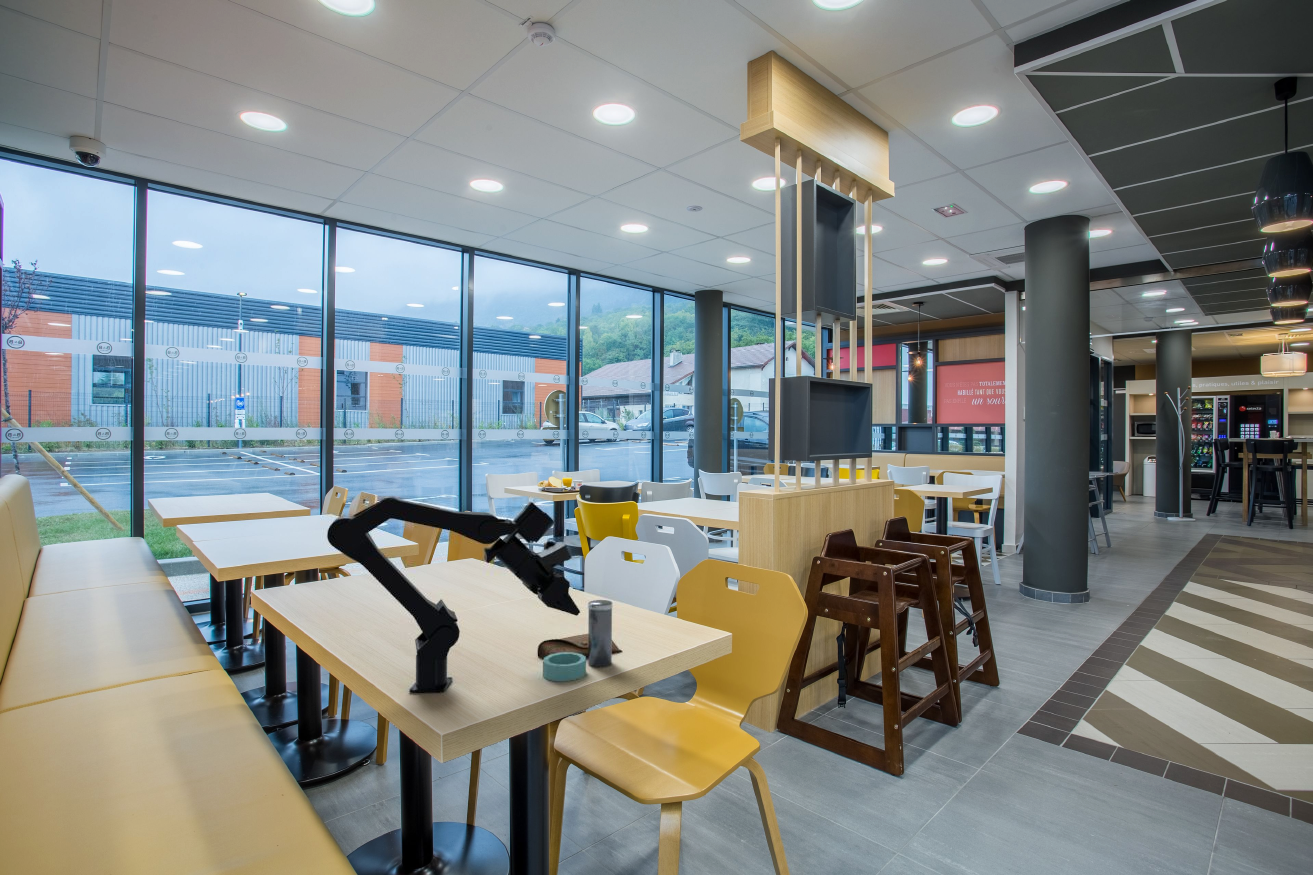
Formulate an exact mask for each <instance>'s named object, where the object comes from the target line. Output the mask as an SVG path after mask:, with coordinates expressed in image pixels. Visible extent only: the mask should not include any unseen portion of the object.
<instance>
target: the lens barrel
mask: <svg viewBox="0 0 1313 875" xmlns="http://www.w3.org/2000/svg"><path fill="white" fill-rule="evenodd" d="M587 610H588V626H587V627H588V633H587V634H588V658H587V661H588V662H587V663H588V666H589V667H592V668H600V667H601V668H607V667H609V666H612V664H613V662H612V660H613V658H612V655H613V653H612V640H613V638H612V635H613V626H612V625H613V602H612V601H611V600H607V599H594V600H591V601H589V602H588V603H587Z"/></svg>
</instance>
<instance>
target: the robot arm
mask: <svg viewBox="0 0 1313 875" xmlns="http://www.w3.org/2000/svg"><path fill="white" fill-rule="evenodd" d="M392 519H393V520H397V521H403V522H408V523H411V524H417V525H422V526H426V527H431V528H436V529H440V530H445V531H449V532H450V531H451V532H453V533H455V534H456V533H457V534H458V535H461V536H463V537H465V538H468V539H469V540H472V541H475V542H477V543H480V544H483V545H491V544H492V545H491V546H489V547H483V551H484V555H483V560H484V561H485V562H486V563H487V564H489V563H491V562H492V560H494V559H495V558H496V559H497V560H498V561H499V562H500V563H501V564H502V565H503V566H504V567H506V568H507V570H509V571H510V572H511V573H512V574H513V575H514V576H515V577H516V578H518V579H519V580H520V582H522V585H523V586H524V587H526V588H527V589H528V590H529V592H531V593H533V594H534V595H536V596H537V599H539V601H541V602H542V604H544V605H545V606H546V607H547V608H550V609H555V610H557V611H561V612H563V613H567V614H570V615H574V616H579V614H580V613H581V610H580V609H579V607H578V605H577V604H576V603H575V601H574V599H573V598H572V597H571V595H570V592H569V591H570V590H569V589H570V587H571V585H570V584H571V582H570V581H569V580H568V579H567V578H566V577H565V576H563V575H562V574H561V573H554V572H555V568H554V567H557V566H559V565H560V564H563V563H564V562H567V561H569V560H571V559H572V558H573V557H572V555H571V553H570V551H569V548H568V546H567V544H566V543H564V542H563V541H558V542H556V543H555V542H554V541H552V540H550V539H549V540H547V541H545V542H544V543H543V549H541V551H540V552H539V553H537V552H535V551H532V550H531V549H530V548H529V547H528V546H527V545H526V544H525V543H524V542H523V541H522V540H520V539H519V538H518V536H516V535H517V534H518V535H519V537H521V538H522V539H523V540H524V541H525V542H526V543H528V544H530V543H531V542H532V543H536V544H537V543H538V542H539V541H540V539H541V538H542V537H544V536H545V534H546V533H547V532H548V531H549V530H550V529H551V528H552V527H553V525H555V523H556V522H555V521H554V520H553V518H552V517H551V516H550V515H549V514H548V513H547V512H546V511H543V510H542V509H541V508H539V507H538V506H537V505H536V504H535V503H534V502H532V501H529V502H528V503H527V504H526V505H525V506H524V508H523V509H522V510H521V511H520V513H518V515H517V516H515V518H514V519H513V520H511V519H509V518H506V519H503V518H498V517H496V516H494V515H493V514H491V513H489V512H484V511H483V512H481V511H479V512H478V511H453V510H450V509H445V508H441V507H437V506H432V505H431V506H430V505H427V504H422V503H418V502H413V501H409V500H403V499H399V498H397V497H395V496H391V495H388V496H387V495H386V496H384V497H383V498H381V499H380V500H379V501H377V502H376V503H374V504H372V505H370V506H368V507H365V508H364V509H362V510H360V511H359V512H357V513H355V514H353V515H352V514H344V515H340V516H339V517H337V518H335V519H334V520H333V521H332V522H331V524H330V525H329V528H328V529H327V533H326V534H327V535H326V539H327V542H328V543H329V545H330V546H332V547H333V548H334V549H336V550H337V551H339V552H340V553H341V554H343V555H344V556H346V557H348V558H350V559H351V560H353V561H354V562H356V563H359V564H360V565H361V566H362V567H363V568H364V569H365V570H367V571H368V572H369V574H371V576H372V577H374V579H376V581H377V582H378V583H379V584H380V585H382V587H383V588H384V589H385V590H386V591H387V592H388V594H389V593H390V595H391V596H392V597H394V599H395V600H396V601H397V602H398V603H399V604H400V605H402V607H404V609H405V610H406V611H407V612H408V613H409V615H411V616H412V617H413V619H414V620H415V622H416V623H417V626H418V627H419V629H420V631H421V633H420V634H419V635H418V636H417V637H416V638H415V640H414V642H415V650H416V651H415V652H416V655H415V682H414V683H413V685H411V687H409V689H408V690H409V691H408V692H409V693H439V692H440V693H443V692H445V691H446V690H447V688H448V686H449V685H450V684H451V683H452V682H453V677H452V676H451V677H450V676H449V677H448V654H449V652H450V649H451V648H452V647H453V646H455V645H456V643H458V640H459V637H460V633H461V631H460V626H458V618H457V615H456V612H455V611H453V610H451V609H449V607H448V606H447V605H446V604H445V601H443V599H440V600H439V601H438V602H437V603H434V602H433V601H431V600H430V599H429V598H427V597H426V596H425V595H424V594H423V593H422V592H421V591H420V590H419V588H417V587H416V586H415V585H414V583H413V582H411V581H410V580H409V579H408V578H407V577H406V576H405V575H404V574H403V573H402V571H401V570H399V568H397V566H396V565H395V564H394V563H393V562H392V561H391V560H390V559H389V558H388V557H387V556H386V555H385V554H384V552H382V551H381V550H380V549H379V547H378V546H377V544H376V543H375V540H374V539H373V538H372V535H371V533H370V532H372V531H373V530H375V529H376V528H377V527H379V526H380V525H381V526H382V524H383V523H385V522H387V521H389V520H392ZM504 536H505V537H504ZM502 537H504V538H502Z"/></svg>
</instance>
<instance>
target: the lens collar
mask: <svg viewBox="0 0 1313 875" xmlns="http://www.w3.org/2000/svg"><path fill="white" fill-rule="evenodd" d="M586 672H587V659H586V657H585V656H583V655H582V654H578V653H573V652H561V653H556V654H551V655H549V656H547V657H544V660H543V659H542V677H543V678H544V679H546V680H548V681H552V682H556V681H557V682H571V680H572V681H575V680H576V679H577V680H580V679H582V678H583V677H585V676H586ZM584 675H585V676H584ZM579 678H580V679H579Z"/></svg>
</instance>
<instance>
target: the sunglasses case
mask: <svg viewBox="0 0 1313 875" xmlns="http://www.w3.org/2000/svg"><path fill="white" fill-rule="evenodd" d="M561 652H573V653H578V654H582V655H583V656H585V657H586V660H588V633H585V634H584V633H583V634H577V635H572V636H571V635H570V636H566V637H562V638H551V639H546V640H543V641H541V642H540V643H539V644H538V646H537V653H536V654H537V657H538V658H539V659H541V660H542V661H543V660H544V657H547V656H549V655H551V654H556V653H561ZM622 652H623V650H622V649H619V646H617V644H616V643H615V641H613V639H612V654H618V653H622Z"/></svg>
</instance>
